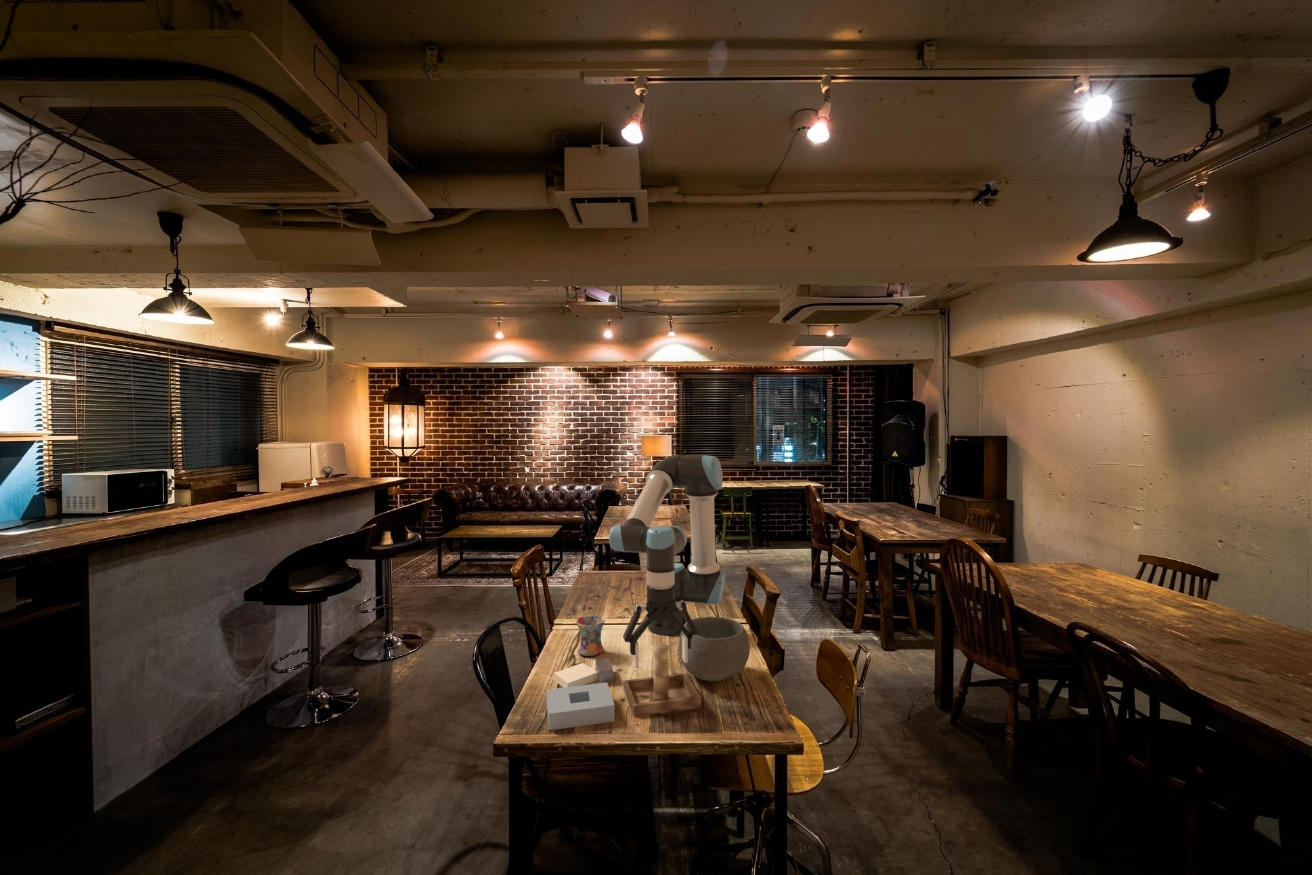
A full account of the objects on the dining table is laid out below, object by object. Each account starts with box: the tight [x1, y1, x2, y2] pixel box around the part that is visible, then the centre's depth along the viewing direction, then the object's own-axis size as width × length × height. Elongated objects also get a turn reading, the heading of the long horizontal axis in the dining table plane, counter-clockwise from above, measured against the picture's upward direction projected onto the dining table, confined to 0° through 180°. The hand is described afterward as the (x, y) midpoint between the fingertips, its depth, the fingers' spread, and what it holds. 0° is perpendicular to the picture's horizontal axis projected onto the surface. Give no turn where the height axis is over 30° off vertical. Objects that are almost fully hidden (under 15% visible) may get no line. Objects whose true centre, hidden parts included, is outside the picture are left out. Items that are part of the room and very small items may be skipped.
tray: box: [622, 672, 702, 717], centre depth 140 cm, size 18×14×4 cm
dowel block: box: [546, 682, 616, 731], centre depth 133 cm, size 16×12×5 cm
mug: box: [575, 615, 606, 657], centre depth 173 cm, size 12×9×11 cm
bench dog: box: [595, 657, 614, 684], centre depth 153 cm, size 4×8×4 cm, turn 14°
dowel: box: [653, 643, 670, 701], centre depth 140 cm, size 4×4×14 cm
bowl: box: [678, 616, 751, 682], centre depth 155 cm, size 21×21×15 cm
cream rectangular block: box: [553, 662, 598, 688], centre depth 150 cm, size 10×8×4 cm
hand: (660, 663), depth 140 cm, fingers open, 13 cm apart
